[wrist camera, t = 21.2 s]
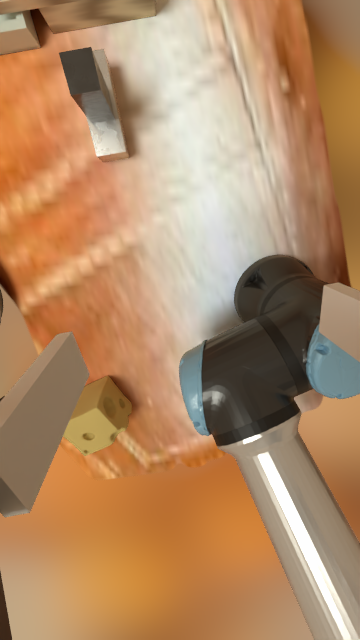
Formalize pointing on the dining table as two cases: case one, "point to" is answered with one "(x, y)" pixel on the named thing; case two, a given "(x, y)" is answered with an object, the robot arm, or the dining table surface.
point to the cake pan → (1, 305)
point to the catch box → (17, 32)
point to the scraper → (96, 100)
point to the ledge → (82, 11)
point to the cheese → (98, 416)
